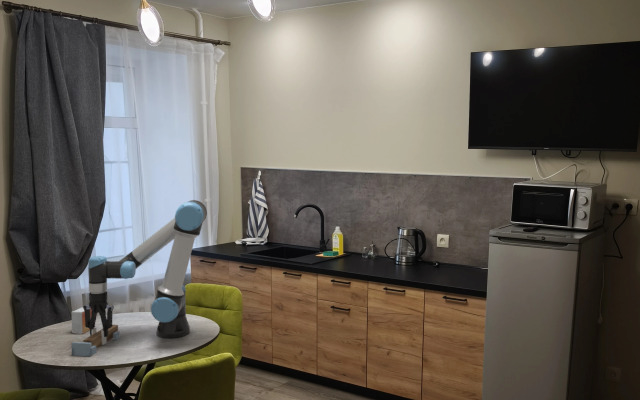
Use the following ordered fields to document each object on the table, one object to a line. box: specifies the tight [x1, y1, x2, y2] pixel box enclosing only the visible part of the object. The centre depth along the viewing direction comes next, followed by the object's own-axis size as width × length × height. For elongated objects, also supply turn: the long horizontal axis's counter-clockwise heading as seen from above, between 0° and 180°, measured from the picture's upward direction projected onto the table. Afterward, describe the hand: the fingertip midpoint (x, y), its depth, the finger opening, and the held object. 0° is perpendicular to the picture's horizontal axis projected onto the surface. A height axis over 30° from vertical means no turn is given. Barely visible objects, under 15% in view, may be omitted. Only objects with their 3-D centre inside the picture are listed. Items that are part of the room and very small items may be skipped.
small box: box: [71, 306, 92, 335], centre depth 266 cm, size 8×6×10 cm
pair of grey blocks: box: [112, 330, 120, 341], centre depth 256 cm, size 8×4×3 cm, turn 81°
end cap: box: [70, 341, 97, 357], centre depth 236 cm, size 8×5×6 cm, turn 81°
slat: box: [82, 324, 119, 350], centre depth 250 cm, size 4×22×5 cm, turn 171°
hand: (99, 343), depth 248 cm, fingers closed on slat, 4 cm apart
